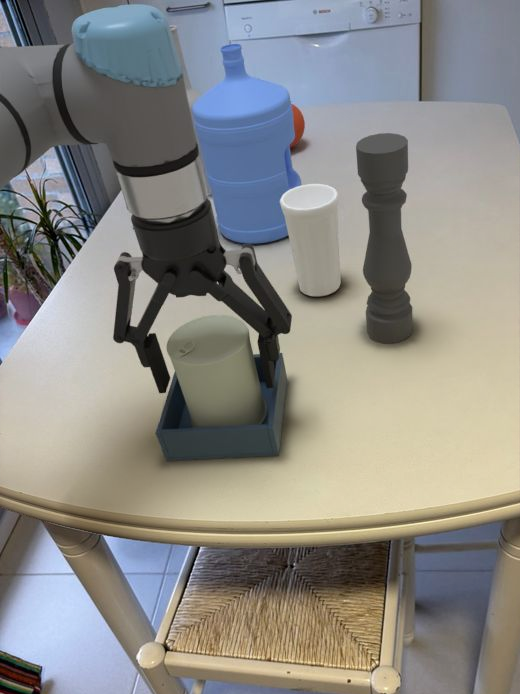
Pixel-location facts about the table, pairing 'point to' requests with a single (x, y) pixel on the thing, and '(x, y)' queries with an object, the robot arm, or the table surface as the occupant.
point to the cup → (314, 236)
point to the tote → (226, 440)
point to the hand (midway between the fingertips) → (217, 383)
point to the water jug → (247, 151)
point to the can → (217, 372)
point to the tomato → (297, 125)
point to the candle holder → (385, 236)
